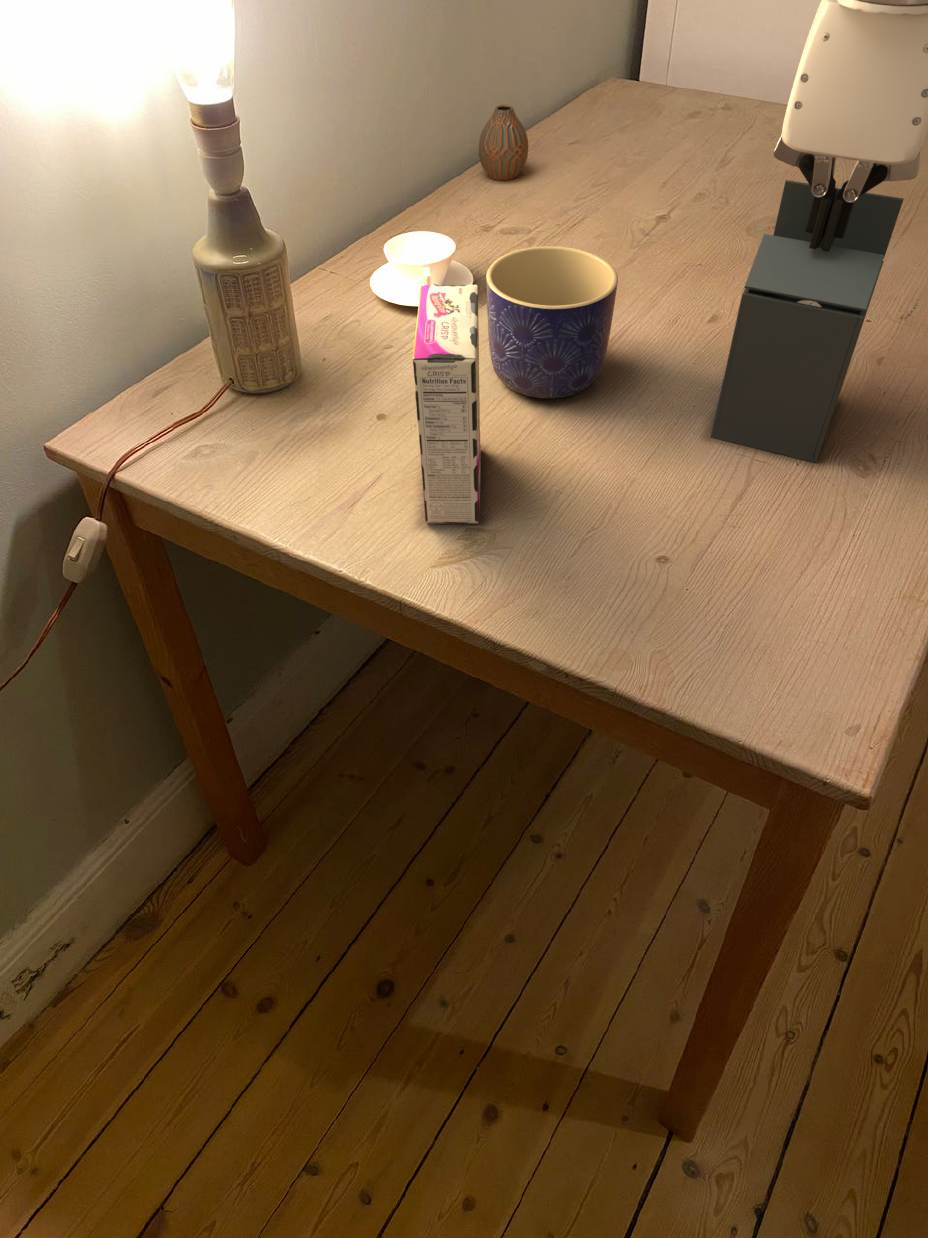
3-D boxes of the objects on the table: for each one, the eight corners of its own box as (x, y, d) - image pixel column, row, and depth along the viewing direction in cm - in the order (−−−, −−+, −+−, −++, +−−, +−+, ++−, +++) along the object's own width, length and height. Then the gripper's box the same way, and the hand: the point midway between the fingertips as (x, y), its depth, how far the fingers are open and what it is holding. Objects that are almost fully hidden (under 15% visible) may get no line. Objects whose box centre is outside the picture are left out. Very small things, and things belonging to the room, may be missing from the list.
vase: (491, 162, 133) (492, 95, 126) (535, 169, 130) (537, 102, 124) (470, 179, 129) (469, 111, 122) (515, 187, 126) (516, 119, 120)
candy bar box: (427, 448, 86) (418, 282, 74) (481, 448, 86) (480, 281, 74) (421, 526, 78) (410, 355, 66) (479, 526, 78) (479, 355, 66)
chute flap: (865, 311, 73) (866, 309, 72) (744, 287, 75) (744, 285, 75) (883, 257, 74) (884, 254, 73) (763, 236, 77) (763, 233, 76)
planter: (523, 424, 88) (527, 319, 80) (465, 363, 96) (463, 262, 88) (630, 390, 92) (644, 287, 84) (566, 334, 99) (573, 234, 91)
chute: (816, 463, 83) (885, 253, 69) (710, 437, 86) (755, 231, 72) (838, 398, 90) (905, 196, 76) (739, 376, 93) (786, 177, 79)
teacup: (390, 325, 101) (386, 279, 97) (357, 278, 109) (353, 234, 105) (489, 304, 104) (489, 259, 100) (451, 259, 112) (450, 216, 108)
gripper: (1021, -28, 61) (923, 240, 75) (796, -48, 66) (742, 209, 79) (1014, 0, 57) (912, 281, 70) (773, -23, 61) (720, 245, 75)
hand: (822, 242), depth 75 cm, fingers closed
